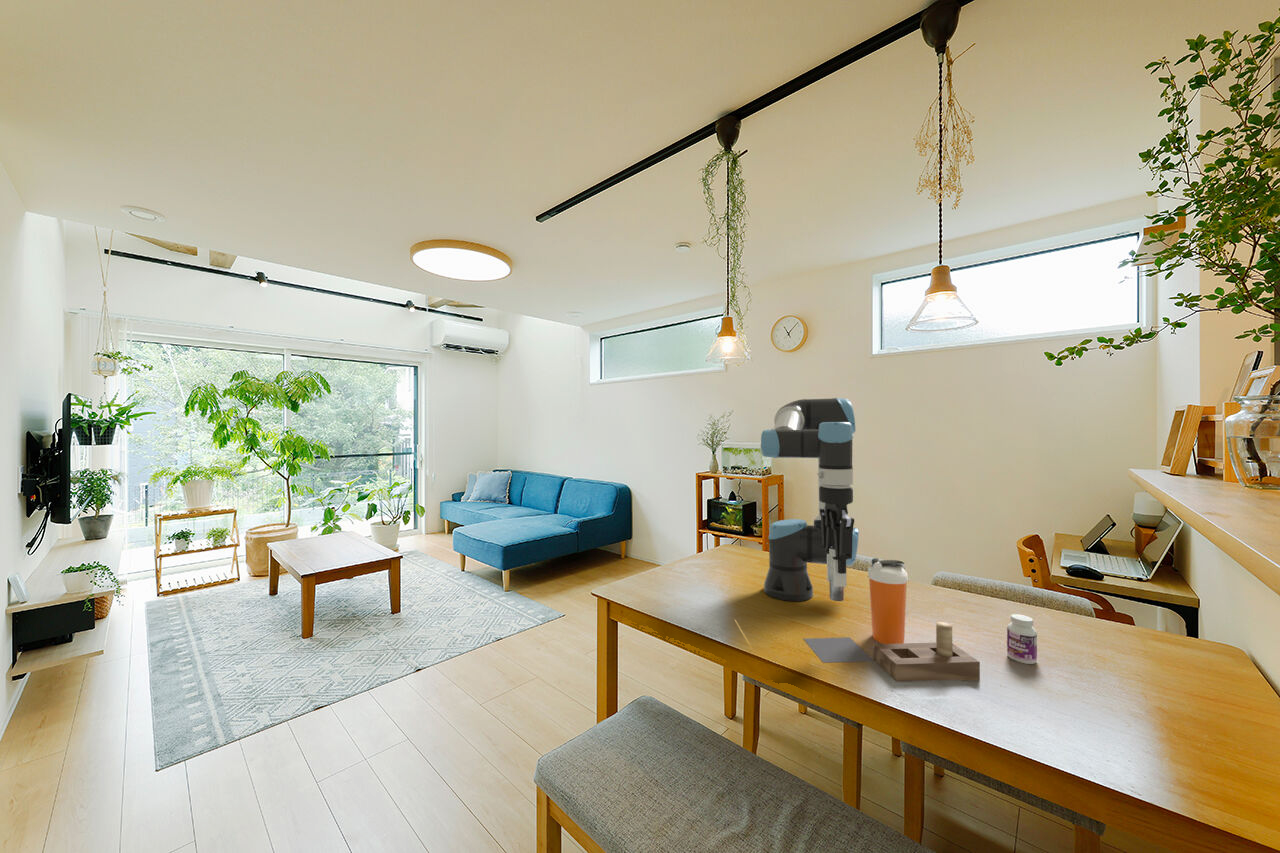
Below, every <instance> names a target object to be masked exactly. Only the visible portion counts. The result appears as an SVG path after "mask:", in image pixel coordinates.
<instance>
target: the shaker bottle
mask: <svg viewBox="0 0 1280 853" xmlns="http://www.w3.org/2000/svg"><path fill="white" fill-rule="evenodd" d="M903 565H905V562H904V561H902V560H896V559H882V560H880V559H879V558H875V557H874V558H872V559H871V565H870V567H869V568H868V569H867V572H868V573H867V578H868V580H869V581H868V584H869V598H870V614H871V615H870V616H871V632H872V638H873V639H874V640H875V641H876V642H878V643H879V644H902V643H905V636H906V635H905V632H906V630H905V629H906V610H907V608H906V606H907V588H908V587H907V585H908V582H909V580H908V578H909V574H908V573H907V571H906V570H905V569H904V568H903Z"/></svg>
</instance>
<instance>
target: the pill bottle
mask: <svg viewBox="0 0 1280 853" xmlns="http://www.w3.org/2000/svg"><path fill="white" fill-rule="evenodd" d="M1033 626H1034V618H1032V617H1029V616H1027V615H1023V614H1019V613H1018V614H1017V613H1013V614H1010V623H1008V624H1007V627H1006V629H1007V630H1006V635H1007V636H1006V653H1007V656H1008V657H1009V658H1010V659H1012V660H1013V661H1016V662H1017V663H1022V664H1026V665H1027V664H1028V665H1033V664H1036V663H1037V661H1038V654H1037V653H1038V632H1037V630H1036V628H1034V627H1033Z"/></svg>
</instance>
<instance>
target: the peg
mask: <svg viewBox="0 0 1280 853" xmlns="http://www.w3.org/2000/svg"><path fill="white" fill-rule="evenodd" d="M833 557H836V554H835V547H831V548H829V581H828V582H829V599H830V600H831V601H834V602H843V601H845V587H835V586H834V559H833Z"/></svg>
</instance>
